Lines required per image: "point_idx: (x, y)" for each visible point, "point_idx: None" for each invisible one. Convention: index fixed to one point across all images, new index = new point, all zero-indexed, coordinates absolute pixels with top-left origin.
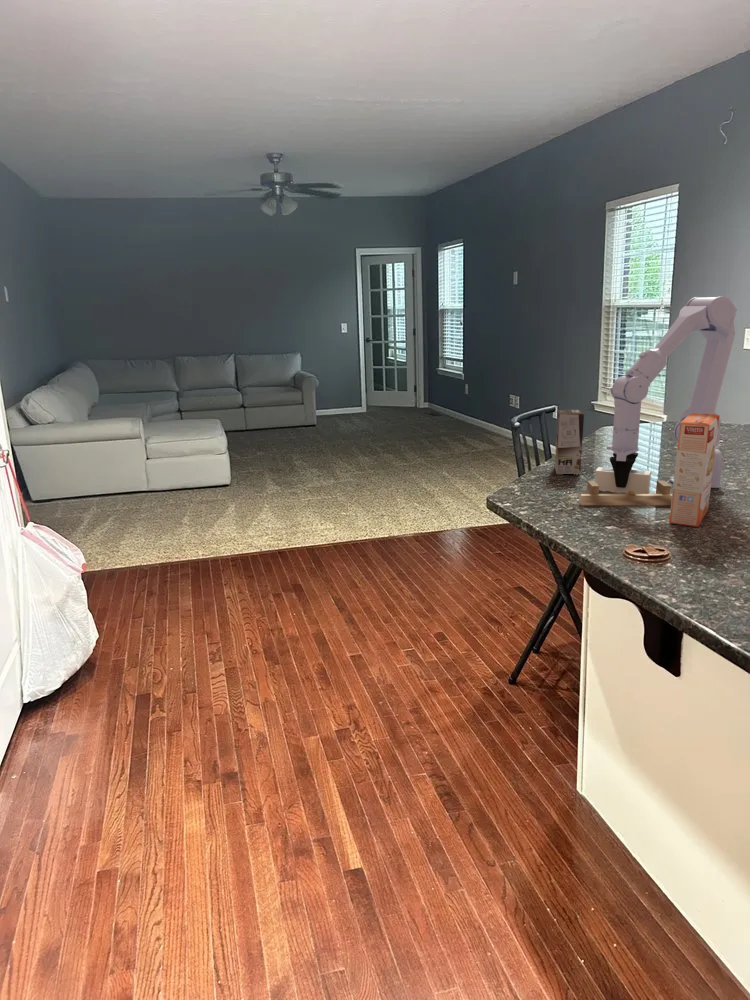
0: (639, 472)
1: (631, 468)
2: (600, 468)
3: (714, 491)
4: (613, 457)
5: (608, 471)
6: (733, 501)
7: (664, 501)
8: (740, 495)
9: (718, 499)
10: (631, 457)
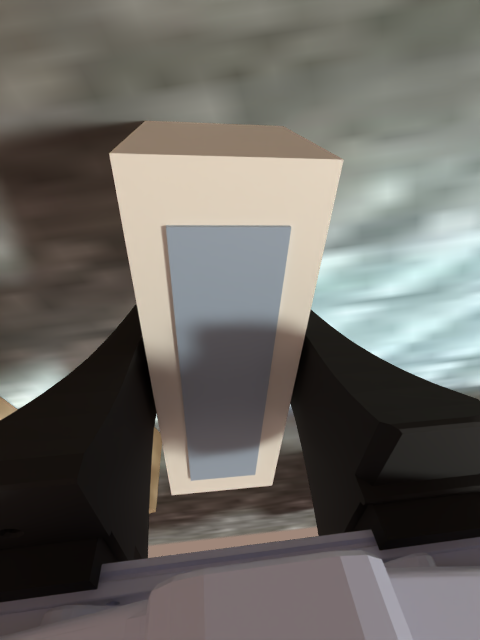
0: (202, 464)
1: (296, 424)
2: (270, 199)
3: (302, 501)
4: (34, 513)
5: (144, 303)
6: (206, 532)
7: None
8: (274, 530)
9: (213, 516)
10: (326, 512)
